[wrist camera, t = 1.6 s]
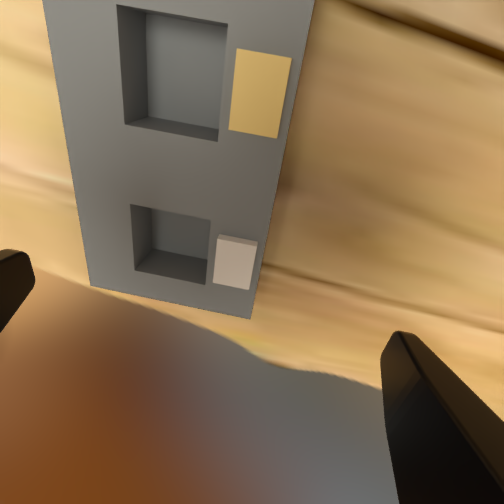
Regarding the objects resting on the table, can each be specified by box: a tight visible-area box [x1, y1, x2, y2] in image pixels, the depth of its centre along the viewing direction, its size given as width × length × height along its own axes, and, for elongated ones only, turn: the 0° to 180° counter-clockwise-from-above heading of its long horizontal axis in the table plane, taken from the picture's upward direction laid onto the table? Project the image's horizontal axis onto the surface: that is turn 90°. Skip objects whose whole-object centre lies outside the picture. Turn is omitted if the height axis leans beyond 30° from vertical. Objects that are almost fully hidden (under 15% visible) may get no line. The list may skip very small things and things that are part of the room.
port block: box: [42, 0, 315, 319], centre depth 16 cm, size 10×16×4 cm, turn 171°
